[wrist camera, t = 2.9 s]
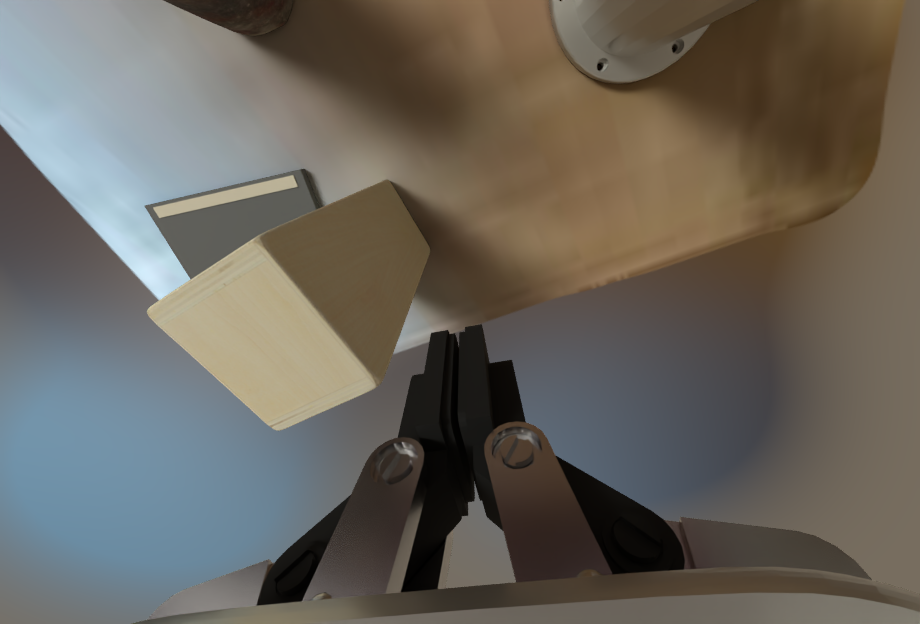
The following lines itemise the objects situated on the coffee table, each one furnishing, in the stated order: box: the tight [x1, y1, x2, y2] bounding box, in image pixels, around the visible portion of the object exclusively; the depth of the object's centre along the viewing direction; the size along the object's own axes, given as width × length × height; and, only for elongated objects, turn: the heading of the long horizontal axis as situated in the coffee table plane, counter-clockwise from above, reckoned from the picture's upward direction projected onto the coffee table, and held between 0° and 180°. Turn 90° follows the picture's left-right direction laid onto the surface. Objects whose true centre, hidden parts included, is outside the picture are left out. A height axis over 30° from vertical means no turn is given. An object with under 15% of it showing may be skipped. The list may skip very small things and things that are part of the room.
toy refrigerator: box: [147, 180, 430, 430], centre depth 23 cm, size 8×7×21 cm
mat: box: [145, 169, 319, 279], centre depth 33 cm, size 16×14×1 cm
